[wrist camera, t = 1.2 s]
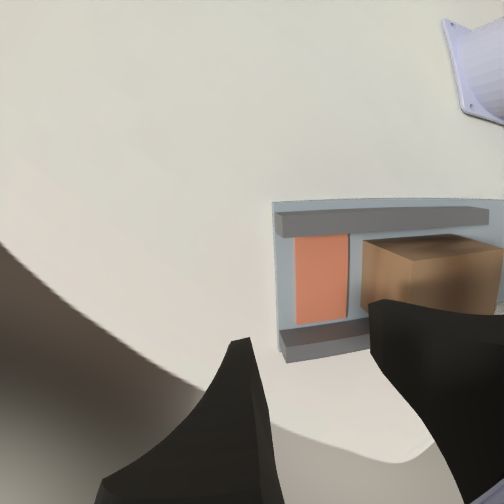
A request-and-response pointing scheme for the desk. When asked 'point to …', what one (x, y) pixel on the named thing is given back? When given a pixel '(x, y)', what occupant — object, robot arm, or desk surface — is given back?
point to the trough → (353, 261)
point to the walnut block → (432, 272)
